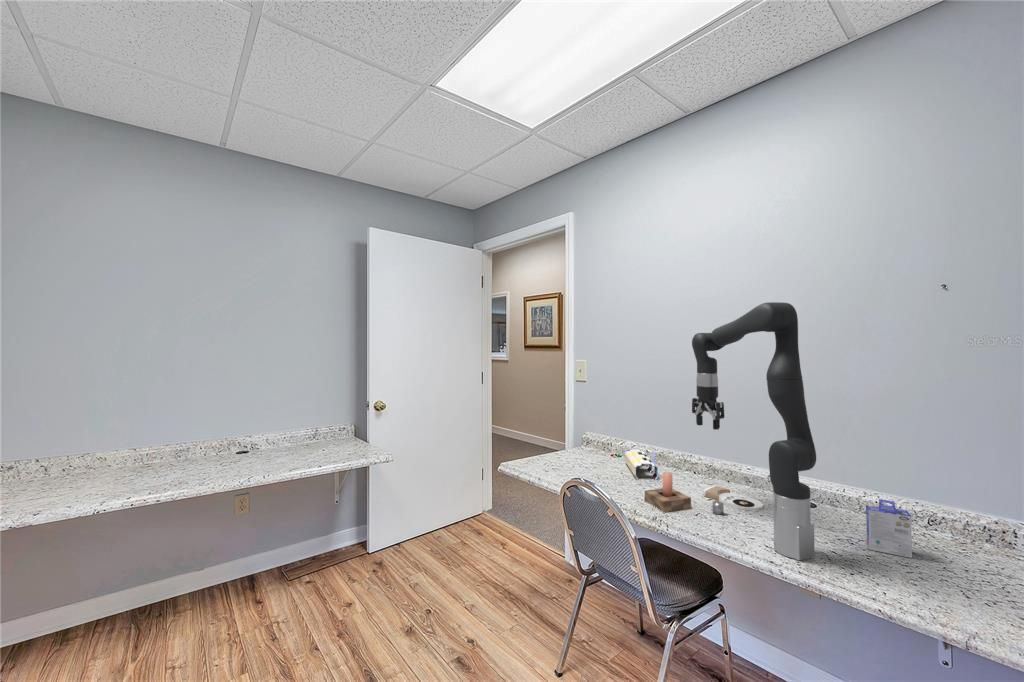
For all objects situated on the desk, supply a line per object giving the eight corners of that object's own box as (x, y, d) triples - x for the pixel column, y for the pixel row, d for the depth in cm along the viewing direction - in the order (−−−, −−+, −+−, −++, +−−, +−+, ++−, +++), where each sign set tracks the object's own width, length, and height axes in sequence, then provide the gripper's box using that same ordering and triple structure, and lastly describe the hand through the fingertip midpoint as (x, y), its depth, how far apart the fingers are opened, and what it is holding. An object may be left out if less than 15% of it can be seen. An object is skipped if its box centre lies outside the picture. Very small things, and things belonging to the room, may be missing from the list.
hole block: (691, 508, 157) (690, 497, 157) (663, 512, 154) (663, 501, 154) (670, 497, 169) (670, 487, 169) (644, 500, 165) (644, 490, 165)
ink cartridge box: (908, 550, 124) (907, 502, 124) (913, 559, 120) (913, 508, 120) (865, 542, 130) (864, 496, 130) (868, 550, 125) (868, 501, 125)
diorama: (658, 480, 189) (658, 452, 189) (635, 480, 190) (634, 451, 190) (645, 464, 214) (644, 439, 214) (624, 464, 215) (624, 439, 215)
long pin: (674, 505, 160) (674, 474, 160) (666, 507, 159) (666, 475, 159) (668, 502, 163) (668, 471, 163) (660, 503, 162) (660, 472, 162)
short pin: (726, 515, 151) (725, 504, 151) (717, 516, 150) (717, 505, 150) (718, 511, 154) (718, 500, 154) (710, 512, 153) (710, 501, 153)
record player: (716, 484, 175) (768, 498, 159) (716, 491, 175) (768, 507, 159) (701, 490, 168) (754, 506, 152) (701, 498, 168) (754, 514, 152)
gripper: (729, 386, 154) (730, 430, 154) (701, 382, 167) (702, 423, 167) (713, 387, 152) (713, 431, 151) (686, 383, 165) (686, 424, 165)
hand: (707, 427), depth 159 cm, fingers open, 8 cm apart
